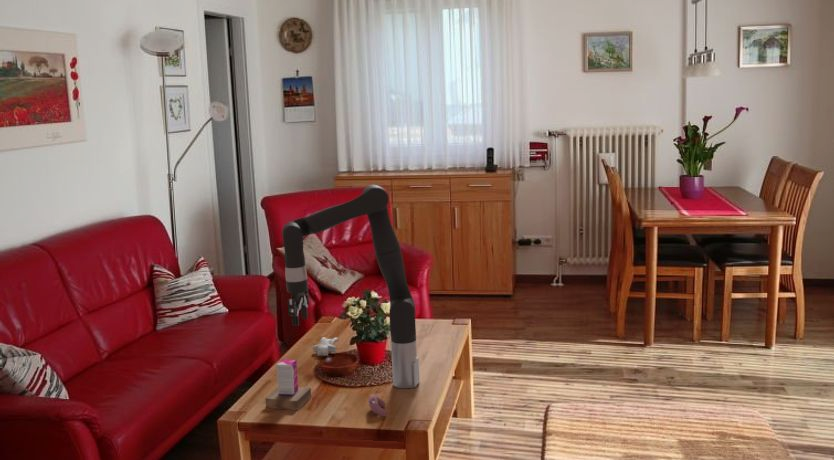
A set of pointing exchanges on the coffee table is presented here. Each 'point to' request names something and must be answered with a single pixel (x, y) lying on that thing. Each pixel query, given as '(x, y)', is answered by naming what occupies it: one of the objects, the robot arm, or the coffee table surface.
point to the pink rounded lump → (377, 405)
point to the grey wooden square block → (288, 399)
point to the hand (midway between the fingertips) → (300, 322)
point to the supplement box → (287, 377)
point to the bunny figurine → (325, 346)
